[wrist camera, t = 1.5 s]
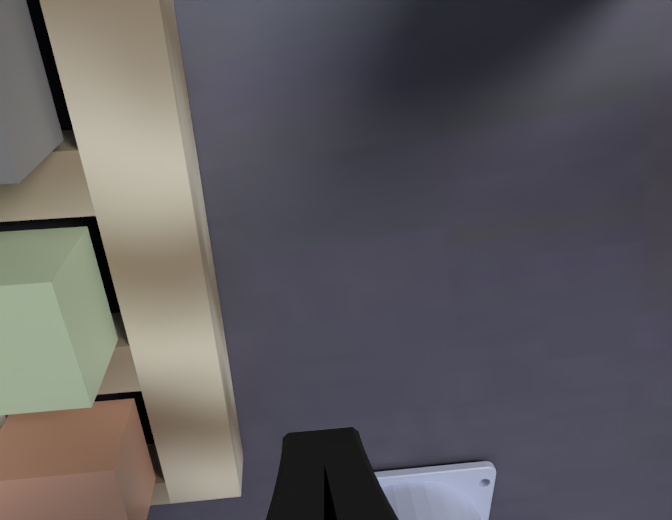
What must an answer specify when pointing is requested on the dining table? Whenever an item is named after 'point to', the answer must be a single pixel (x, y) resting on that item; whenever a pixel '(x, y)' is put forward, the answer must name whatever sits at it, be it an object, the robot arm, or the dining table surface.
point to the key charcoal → (23, 97)
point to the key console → (143, 231)
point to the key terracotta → (76, 464)
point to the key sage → (52, 321)
